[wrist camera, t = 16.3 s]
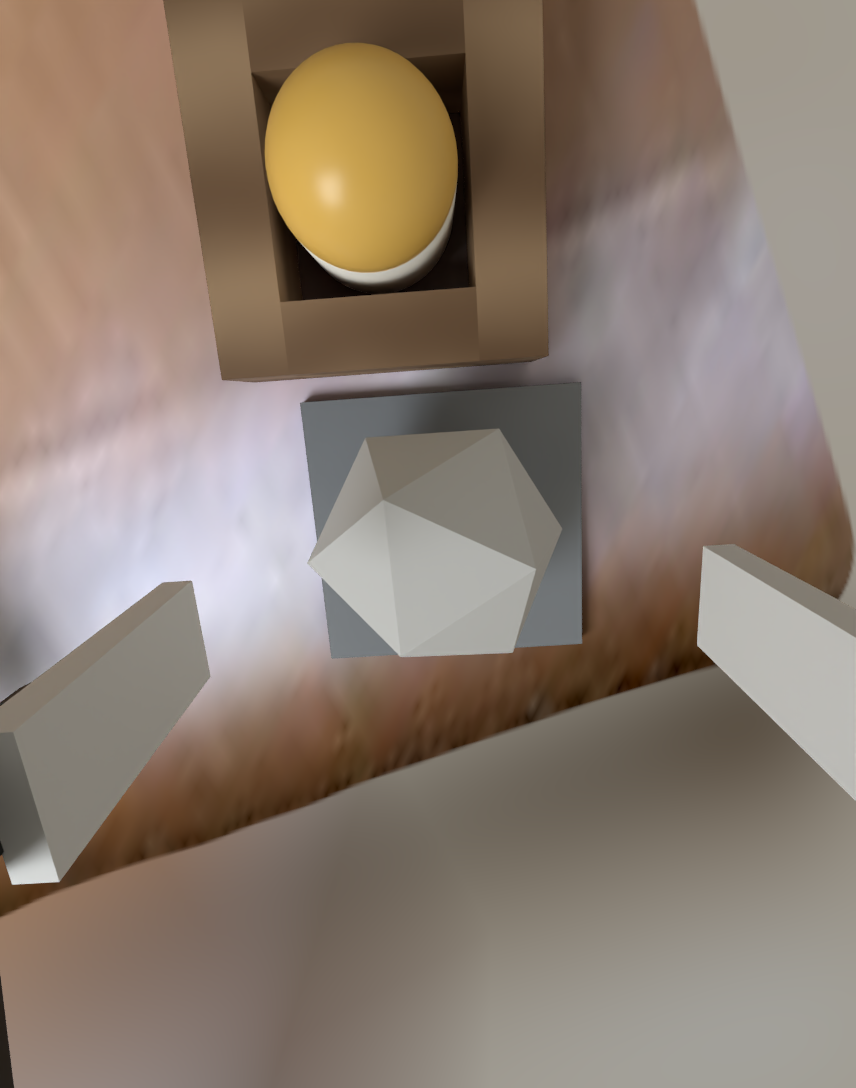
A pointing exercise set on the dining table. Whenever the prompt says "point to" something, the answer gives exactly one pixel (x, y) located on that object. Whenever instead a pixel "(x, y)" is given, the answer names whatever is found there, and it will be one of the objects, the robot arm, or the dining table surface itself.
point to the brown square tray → (270, 247)
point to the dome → (363, 166)
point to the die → (438, 542)
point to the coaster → (519, 412)
